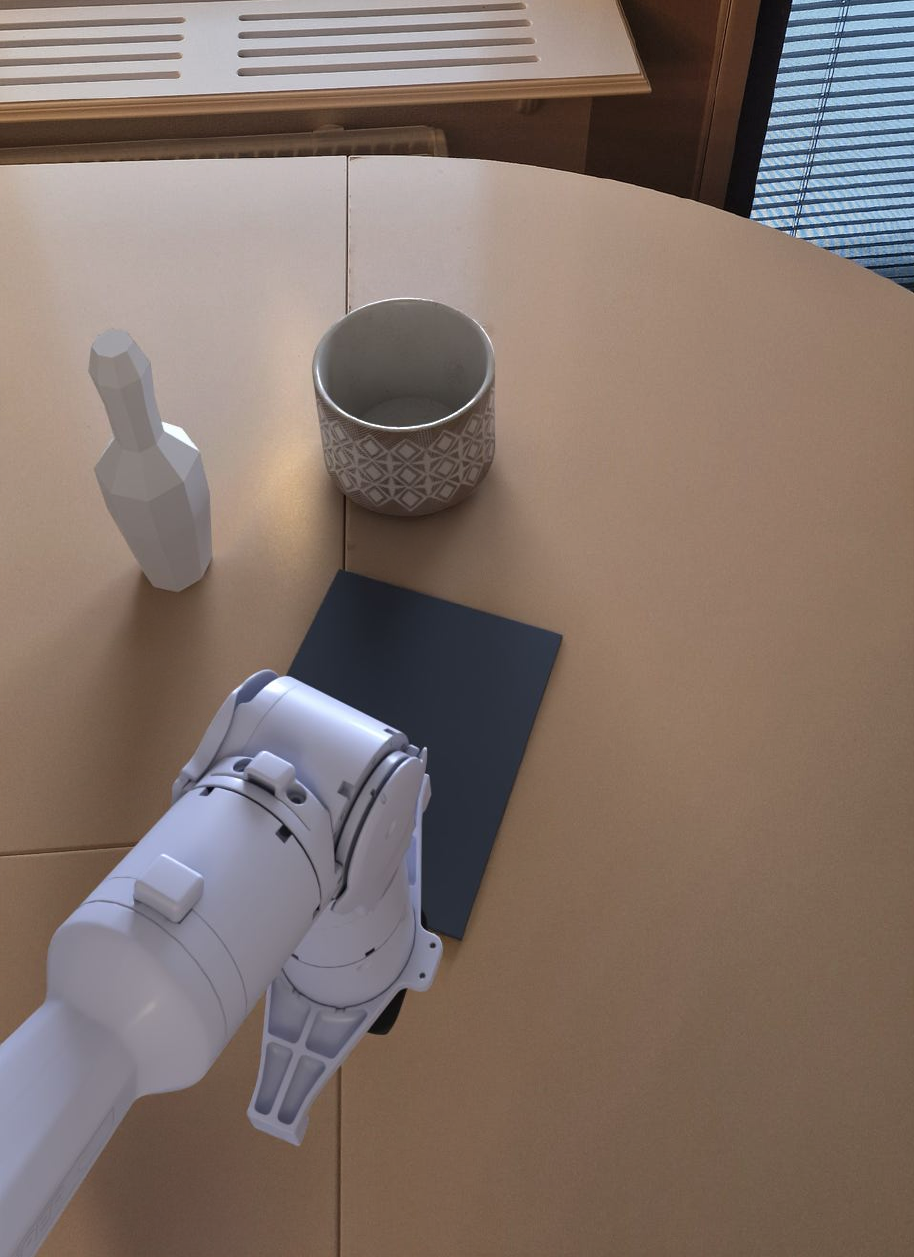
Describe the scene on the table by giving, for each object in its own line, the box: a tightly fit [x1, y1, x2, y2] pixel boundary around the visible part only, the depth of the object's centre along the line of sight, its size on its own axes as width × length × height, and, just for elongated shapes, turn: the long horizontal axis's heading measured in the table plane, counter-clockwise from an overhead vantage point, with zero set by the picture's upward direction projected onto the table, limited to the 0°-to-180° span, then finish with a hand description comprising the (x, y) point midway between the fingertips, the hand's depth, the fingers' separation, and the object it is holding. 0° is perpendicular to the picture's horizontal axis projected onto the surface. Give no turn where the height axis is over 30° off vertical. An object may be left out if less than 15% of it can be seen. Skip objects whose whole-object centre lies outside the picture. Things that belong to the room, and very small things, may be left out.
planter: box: [311, 297, 496, 517], centre depth 93 cm, size 13×13×10 cm
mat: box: [285, 568, 564, 942], centre depth 80 cm, size 20×16×1 cm
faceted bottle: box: [87, 327, 213, 593], centre depth 82 cm, size 6×6×22 cm
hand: (364, 1002), depth 59 cm, fingers closed
